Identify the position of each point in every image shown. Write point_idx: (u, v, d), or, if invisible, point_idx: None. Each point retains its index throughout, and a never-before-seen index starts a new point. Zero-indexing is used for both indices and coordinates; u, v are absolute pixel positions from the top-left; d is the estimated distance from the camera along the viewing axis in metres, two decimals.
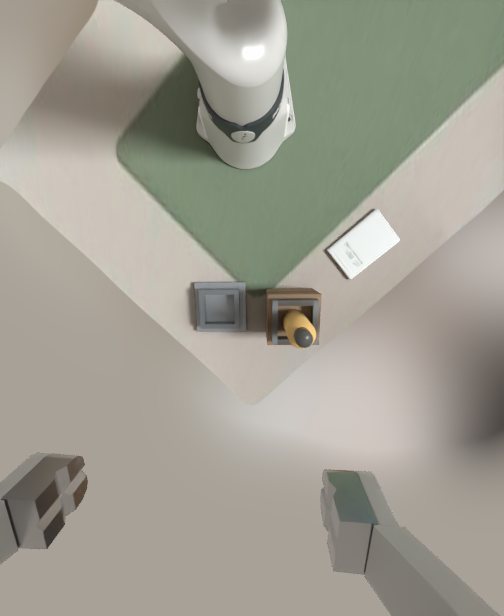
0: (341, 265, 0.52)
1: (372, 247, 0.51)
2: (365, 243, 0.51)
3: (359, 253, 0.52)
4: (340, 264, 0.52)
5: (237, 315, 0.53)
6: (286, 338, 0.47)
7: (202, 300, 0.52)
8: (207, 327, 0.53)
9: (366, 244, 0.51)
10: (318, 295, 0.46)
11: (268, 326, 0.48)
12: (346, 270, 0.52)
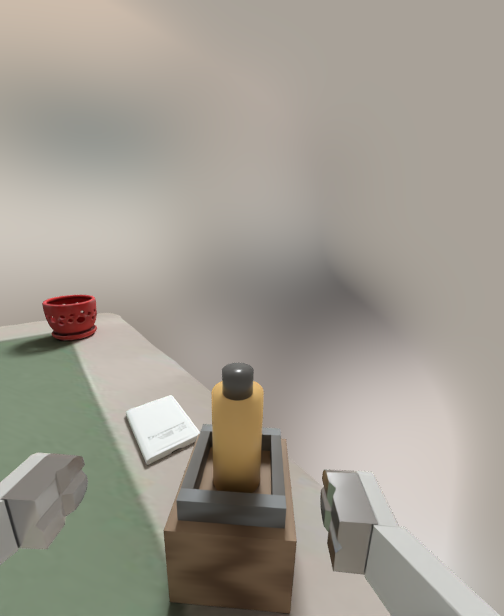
0: (177, 443, 0.36)
1: (168, 414, 0.42)
2: (160, 420, 0.41)
3: (169, 425, 0.40)
4: (175, 444, 0.36)
5: None
6: None
7: None
8: None
9: (162, 418, 0.41)
10: (199, 437, 0.28)
11: (246, 534, 0.19)
12: (186, 437, 0.37)
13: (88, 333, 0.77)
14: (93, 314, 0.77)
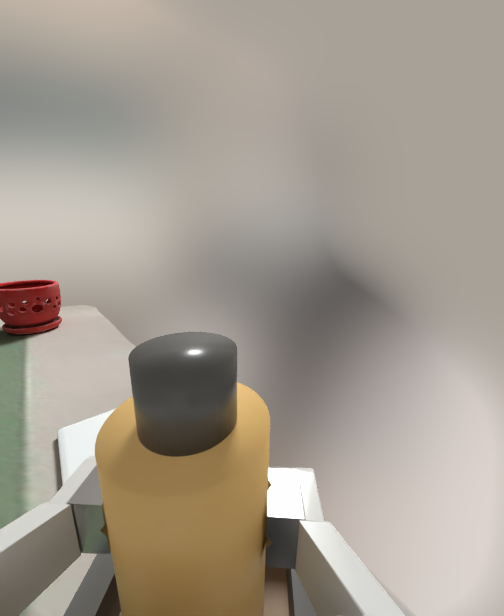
0: None
1: None
2: None
3: None
4: None
5: None
6: None
7: None
8: None
9: None
10: None
11: None
12: None
13: (48, 326, 0.62)
14: (55, 302, 0.63)
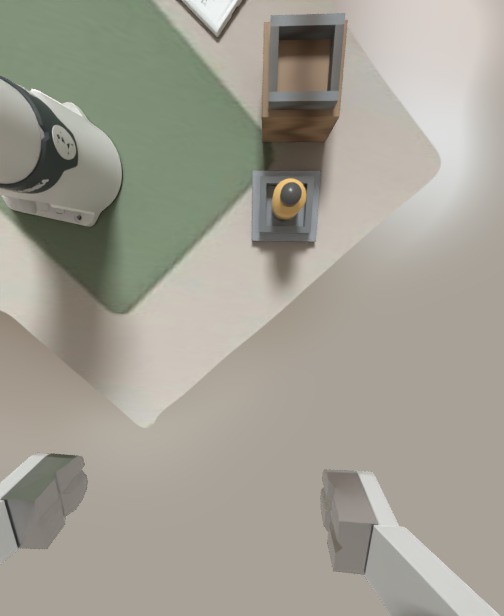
0: (234, 1, 0.36)
1: None
2: None
3: None
4: (233, 3, 0.36)
5: None
6: (330, 77, 0.30)
7: (272, 227, 0.41)
8: (309, 223, 0.40)
9: None
10: (265, 27, 0.30)
11: (310, 115, 0.32)
12: None
13: None
14: None
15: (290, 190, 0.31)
